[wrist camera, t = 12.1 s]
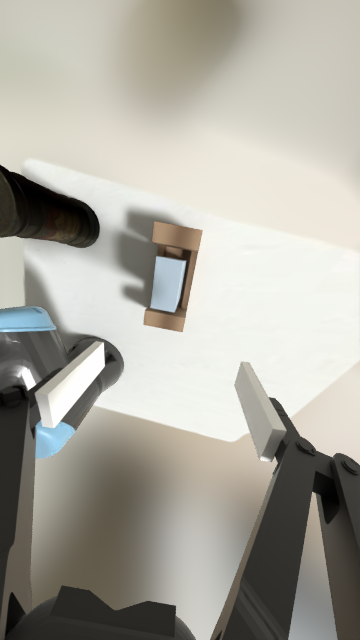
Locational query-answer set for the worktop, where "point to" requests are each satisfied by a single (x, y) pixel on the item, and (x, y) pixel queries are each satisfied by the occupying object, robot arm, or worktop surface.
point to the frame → (184, 247)
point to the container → (43, 213)
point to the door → (167, 283)
